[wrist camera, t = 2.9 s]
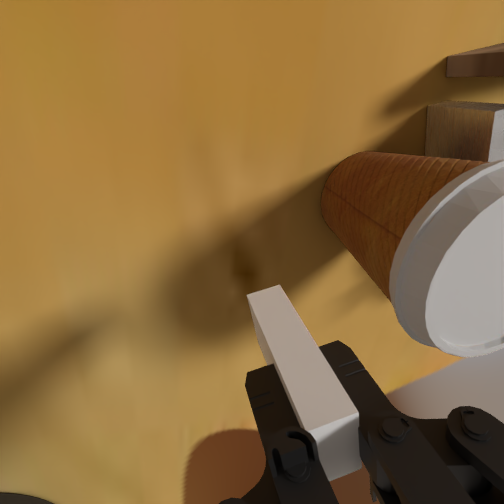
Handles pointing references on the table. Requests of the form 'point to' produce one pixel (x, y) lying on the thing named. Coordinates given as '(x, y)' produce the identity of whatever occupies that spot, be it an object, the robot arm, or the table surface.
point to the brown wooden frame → (477, 62)
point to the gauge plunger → (465, 131)
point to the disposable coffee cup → (427, 242)
